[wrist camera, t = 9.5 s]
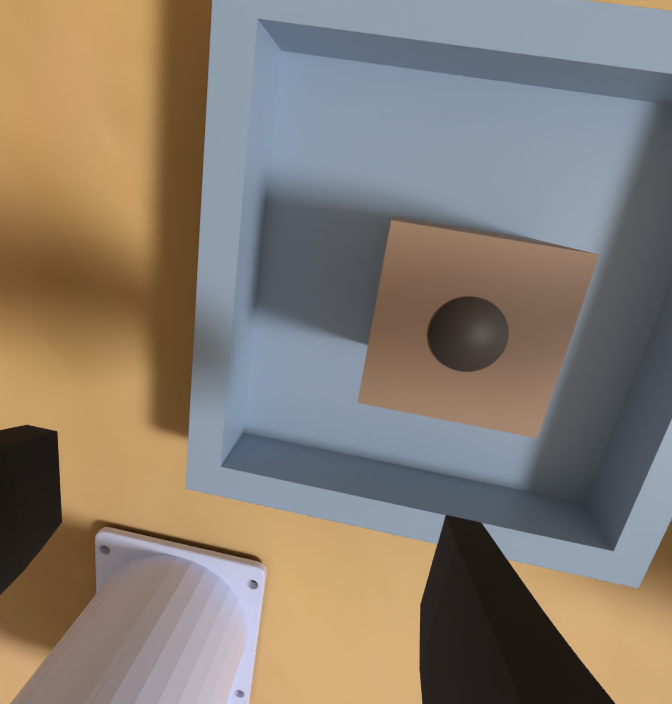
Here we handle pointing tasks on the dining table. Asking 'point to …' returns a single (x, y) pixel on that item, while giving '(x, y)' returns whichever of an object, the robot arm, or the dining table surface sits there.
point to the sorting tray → (444, 208)
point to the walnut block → (472, 325)
